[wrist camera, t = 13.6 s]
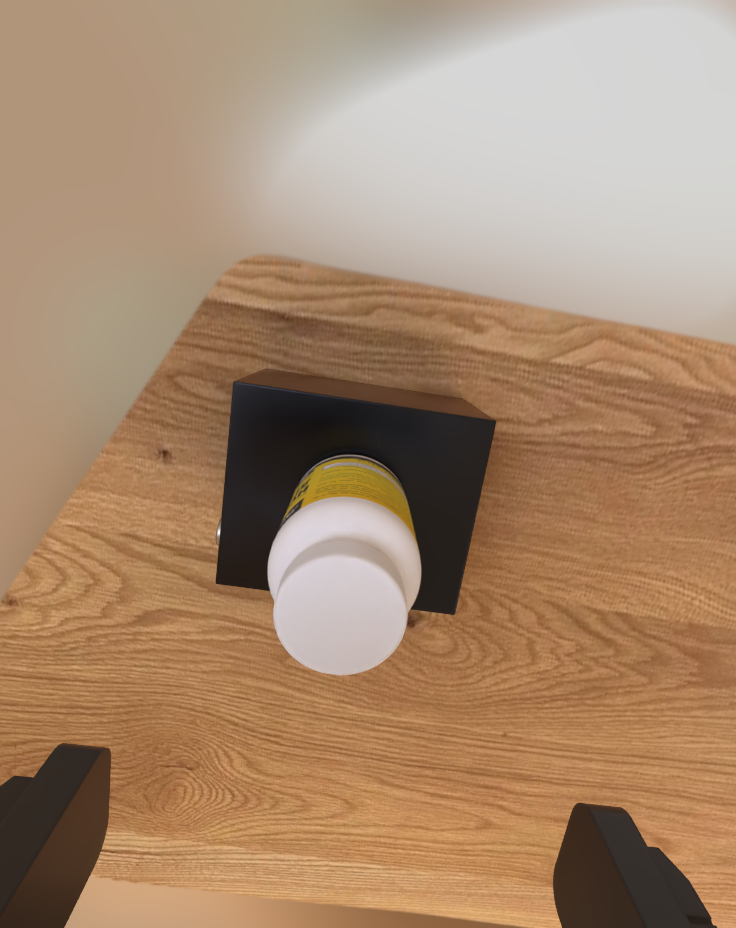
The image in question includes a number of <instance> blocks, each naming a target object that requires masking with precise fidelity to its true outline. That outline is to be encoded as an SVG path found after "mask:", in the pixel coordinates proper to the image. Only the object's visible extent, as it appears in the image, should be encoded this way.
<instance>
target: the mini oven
mask: <svg viewBox="0 0 736 928" xmlns="http://www.w3.org/2000/svg"><path fill="white" fill-rule="evenodd" d="M495 425H496V421H495V420H494V419H492V418H491V417H489V416H488V415H486V414H485V413H483V412H482V411H480V410H479V409H477V408H476V407H475V406H473V405H472V404H470V403H469V402H467V401H466V400H464V399H463V398H456V397H450V396H443V395H437V394H430V393H423V392H417V391H410V390H404V389H397V388H391V387H384V386H377V385H371V384H364V383H358V382H351V381H345V380H338V379H331V378H325V377H318V376H312V375H305V374H298V373H292V372H285V371H279V370H272V369H263V370H261V371H258V372H256V373H254V374H251V375H249V376H246V377H244V378H241V379H239V380H237V381H234V383H233V393H232V404H231V415H230V427H229V438H228V449H227V460H226V472H225V483H224V494H223V505H222V517H221V519H220V521H219V524H218V527H217V532H216V544H217V545H218V546H219V551H218V562H217V573H216V584H221V585H229V586H237V587H244V588H252V589H260V590H267V591H270V588H269V583H268V560H269V555H270V551H271V548H272V543H273V541H274V538H275V537H276V534H277V532H278V530H279V527H280V525H281V523H282V521H283V518H284V516H285V514H286V512H287V509H288V507H289V504H290V502H291V499H292V497H293V494H294V491H295V489H296V487H297V486H298V484H299V482H300V481H301V479H302V478H303V477H304V475H305V474H306V473H307V472H308V471H309V470H310V469H311V468H312V467H314V466H315V465H316V464H318V463H320V462H321V461H323V460H326V459H328V458H331V457H335V456H339V455H360V456H365V457H368V458H371V459H374V460H376V461H378V462H379V463H381V464H383V465H384V466H385V467H387V468H388V469H389V470H390V471H391V472H392V473H393V474H394V475H395V476H396V477H397V479H398V480H399V482H400V484H401V486H402V488H403V490H404V492H405V495H406V498H407V502H408V506H409V510H410V515H411V519H412V523H413V528H414V532H415V536H416V540H417V544H418V549H419V553H420V561H421V582H420V587H419V591H418V594H417V597H416V600H415V602H414V604H413V605H412V607H411V609H413V610H421V611H428V612H436V613H444V614H451V615H454V614H455V611H456V607H457V602H458V597H459V593H460V588H461V583H462V579H463V574H464V569H465V565H466V560H467V555H468V551H469V546H470V541H471V537H472V532H473V527H474V523H475V518H476V513H477V509H478V504H479V499H480V495H481V490H482V485H483V481H484V476H485V472H486V467H487V462H488V458H489V453H490V448H491V444H492V439H493V434H494V430H495Z"/></svg>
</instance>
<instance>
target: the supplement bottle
mask: <svg viewBox="0 0 736 928" xmlns="http://www.w3.org/2000/svg"><path fill="white" fill-rule="evenodd" d="M420 582H421V561H420V553H419V549H418V544H417V540H416V536H415V532H414V528H413V523H412V519H411V515H410V510H409V506H408V502H407V498H406V495H405V492H404V490H403V488H402V486H401V484H400V482H399V480H398V479H397V477H396V476H395V475H394V474H393V473H392V472H391V471H390V470H389V469H388V468H387V467H385V466H384V465H383V464H381V463H379V462H378V461H376V460H374V459H371V458H368V457H365V456H360V455H339V456H335V457H331V458H328V459H326V460H323V461H321V462H320V463H318V464H316V465H315V466H314V467H312V468H311V469H310V470H309V471H308V472H307V473H306V474H305V475H304V477H303V478H302V479H301V481H300V482H299V484H298V486H297V487H296V489H295V491H294V494H293V497H292V499H291V502H290V504H289V507H288V509H287V512H286V514H285V516H284V518H283V521H282V523H281V525H280V527H279V530H278V532H277V534H276V537H275V538H274V541H273V543H272V548H271V551H270V555H269V560H268V583H269V588H270V591H271V595H272V597H273V599H274V602H275V603H274V610H273V618H274V625H275V629H276V633H277V635H278V637H279V640H280V642H281V643H282V645H283V646H284V648H285V649H286V650H287V652H288V653H289V654H290V655H291V656H292V657H293V658H294V659H296V660H297V661H298V662H300V663H301V664H303V665H304V666H306V667H308V668H310V669H313V670H315V671H318V672H321V673H326V674H333V675H350V674H356V673H360V672H364V671H366V670H369V669H371V668H373V667H375V666H377V665H379V664H380V663H382V662H383V661H384V660H386V659H387V658H388V657H389V656H390V655H391V654H392V653H393V652H394V651H395V650H396V648H397V647H398V645H399V643H400V642H401V640H402V637H403V635H404V632H405V629H406V625H407V613H408V612H409V610H410V609H411V607H412V605H413V604H414V602H415V600H416V597H417V594H418V591H419V587H420Z"/></svg>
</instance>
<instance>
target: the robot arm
mask: <svg viewBox="0 0 736 928" xmlns="http://www.w3.org/2000/svg"><path fill="white" fill-rule="evenodd" d="M110 768H111V753H110V749H109V748H103V747H94V746H85V745H76V744H67V743H62V744H60V745H58V746H57V747H56V748H55V749H54V751H53V752H52V753H51V755H50V756H49V757H48V759H47V760H46V761H45V763H44V764H43V766H42V767H41V768H40V770H39V771H38V772H37V774H36V775H35V777H34V778H31V777H22V776H14V777H12V778H11V779H9V780H8V781H7V782H5V783H4V784H3V785H1V786H0V928H64V927H65V925H66V923H67V921H68V919H69V917H70V915H71V913H72V911H73V908H74V907H75V905H76V903H77V900H78V899H79V897H80V894H81V892H82V890H83V889H84V886H85V884H86V882H87V880H88V878H89V876H90V874H91V872H92V870H93V868H94V866H95V864H96V862H97V859H98V857H99V854H100V852H101V849H102V846H103V842H104V839H105V835H106V831H107V826H108V818H109V794H110ZM553 889H554V899H555V905H556V909H557V913H558V916H559V919H560V922H561V925H562V928H717V927H716V926H713V924H712V922H711V917H710V915H709V913H708V912H707V910H706V908H705V907H704V905H703V903H702V901H701V900H700V898H699V896H698V895H697V893H696V891H695V890H694V888H693V886H692V885H691V883H690V881H689V880H688V879H687V878H686V877H685V876H684V875H683V874H682V873H681V871H680V870H679V869H678V868H677V867H676V866H675V865H674V864H673V863H672V862H671V861H670V860H669V859H668V858H667V857H666V855H665V854H664V853H663V852H662V851H661V850H660V849H659V848H656V847H647V845H646V843H645V841H644V840H643V838H642V836H641V834H640V832H639V831H638V829H637V827H636V825H635V823H634V822H633V820H632V818H631V817H630V815H629V814H628V813H627V811H625V810H624V809H623V808H621V807H612V806H603V805H594V804H585V803H577V804H576V805H575V806H574V808H573V810H572V813H571V816H570V819H569V822H568V826H567V829H566V832H565V835H564V839H563V842H562V845H561V849H560V852H559V855H558V858H557V862H556V865H555V869H554V876H553Z"/></svg>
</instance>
